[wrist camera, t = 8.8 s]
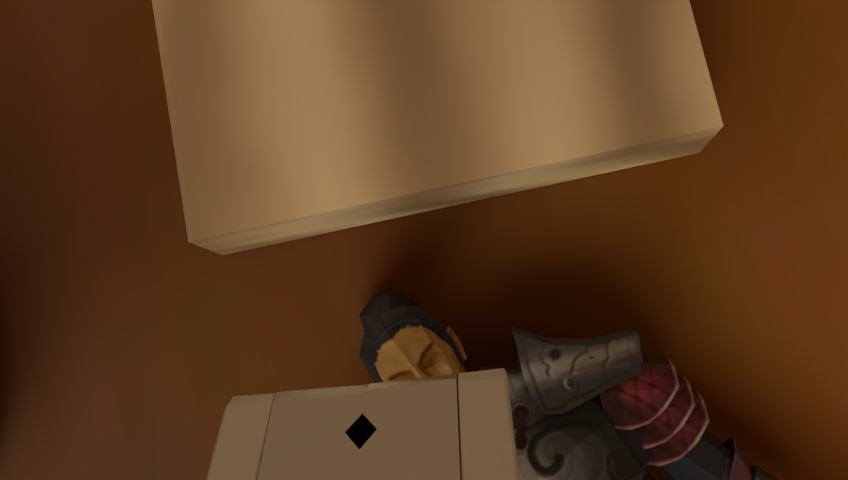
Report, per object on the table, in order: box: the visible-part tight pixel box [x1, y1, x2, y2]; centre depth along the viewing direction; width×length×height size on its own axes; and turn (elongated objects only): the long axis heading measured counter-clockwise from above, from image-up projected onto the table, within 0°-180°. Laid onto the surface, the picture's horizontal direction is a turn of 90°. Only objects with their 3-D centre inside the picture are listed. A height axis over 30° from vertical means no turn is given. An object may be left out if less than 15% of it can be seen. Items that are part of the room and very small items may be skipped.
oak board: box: [152, 0, 723, 255], centre depth 26 cm, size 16×10×3 cm, turn 101°
